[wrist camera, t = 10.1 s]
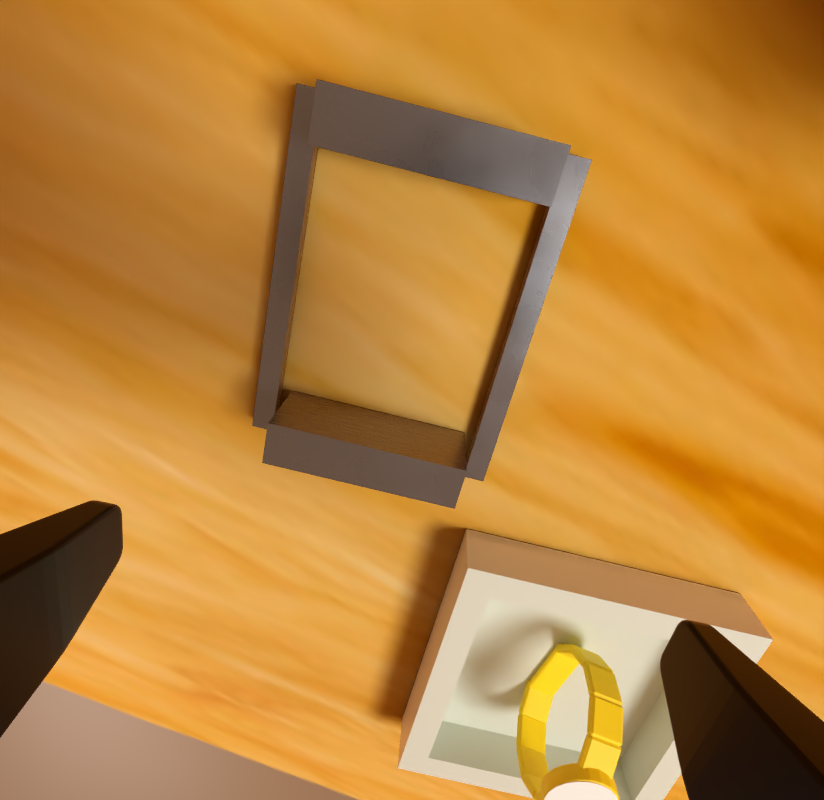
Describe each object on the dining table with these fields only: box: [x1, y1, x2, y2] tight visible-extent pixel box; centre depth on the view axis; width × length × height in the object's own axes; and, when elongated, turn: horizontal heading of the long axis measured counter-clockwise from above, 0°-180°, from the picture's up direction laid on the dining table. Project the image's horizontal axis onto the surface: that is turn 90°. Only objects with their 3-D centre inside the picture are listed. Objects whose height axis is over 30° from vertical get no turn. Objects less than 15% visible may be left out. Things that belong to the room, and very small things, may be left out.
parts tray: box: [398, 529, 773, 800], centre depth 24 cm, size 12×12×2 cm
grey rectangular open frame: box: [252, 79, 592, 509], centre depth 18 cm, size 9×12×3 cm
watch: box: [516, 644, 623, 800], centre depth 22 cm, size 6×3×6 cm, turn 156°
